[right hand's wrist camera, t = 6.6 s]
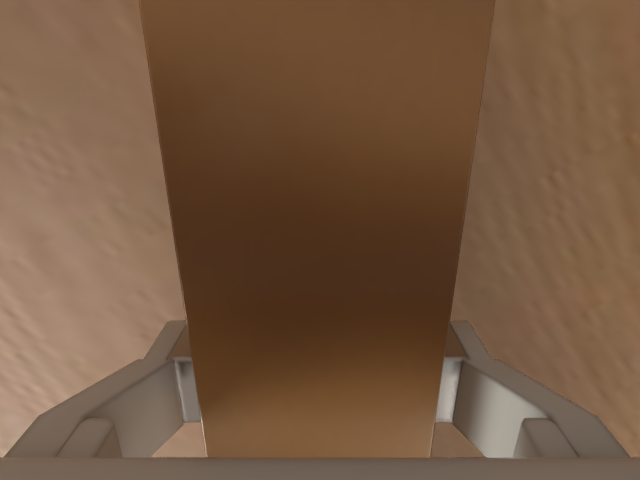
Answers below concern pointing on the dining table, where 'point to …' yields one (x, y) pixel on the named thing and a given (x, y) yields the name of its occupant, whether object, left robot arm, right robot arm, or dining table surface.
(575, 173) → the dining table surface
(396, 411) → the beam
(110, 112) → the dining table surface
